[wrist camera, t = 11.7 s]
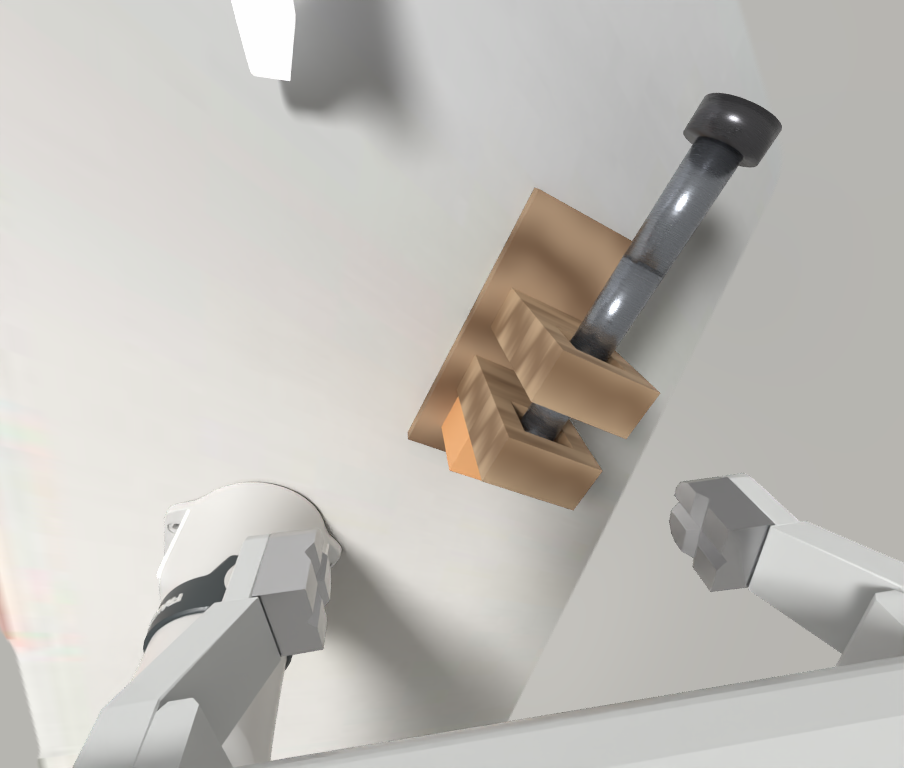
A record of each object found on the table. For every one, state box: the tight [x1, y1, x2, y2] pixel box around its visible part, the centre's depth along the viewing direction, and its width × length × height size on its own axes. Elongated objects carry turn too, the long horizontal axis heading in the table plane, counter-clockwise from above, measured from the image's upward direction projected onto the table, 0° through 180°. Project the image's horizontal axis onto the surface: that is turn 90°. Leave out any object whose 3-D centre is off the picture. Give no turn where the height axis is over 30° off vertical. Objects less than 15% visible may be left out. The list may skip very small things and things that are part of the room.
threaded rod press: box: [408, 188, 660, 510], centre depth 39 cm, size 26×12×15 cm, turn 154°
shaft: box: [520, 93, 782, 441], centre depth 33 cm, size 26×5×5 cm, turn 154°
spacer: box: [441, 397, 482, 481], centre depth 45 cm, size 4×7×7 cm, turn 64°
